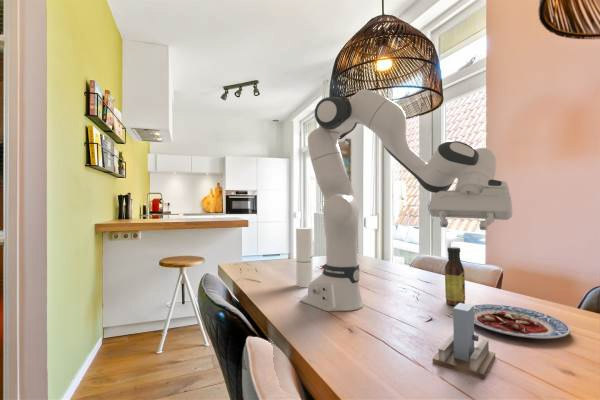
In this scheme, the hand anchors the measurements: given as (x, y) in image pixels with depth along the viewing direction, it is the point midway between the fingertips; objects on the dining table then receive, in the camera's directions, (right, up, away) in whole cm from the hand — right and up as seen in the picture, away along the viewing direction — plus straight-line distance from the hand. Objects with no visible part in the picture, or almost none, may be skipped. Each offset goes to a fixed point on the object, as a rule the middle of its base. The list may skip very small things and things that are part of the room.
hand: (462, 227), depth 82 cm
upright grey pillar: (-5, -28, -10) cm, 30 cm away
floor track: (-5, -29, -10) cm, 31 cm away
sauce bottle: (+12, -30, +29) cm, 43 cm away
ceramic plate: (+19, -30, +10) cm, 37 cm away
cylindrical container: (-40, -31, +55) cm, 75 cm away
